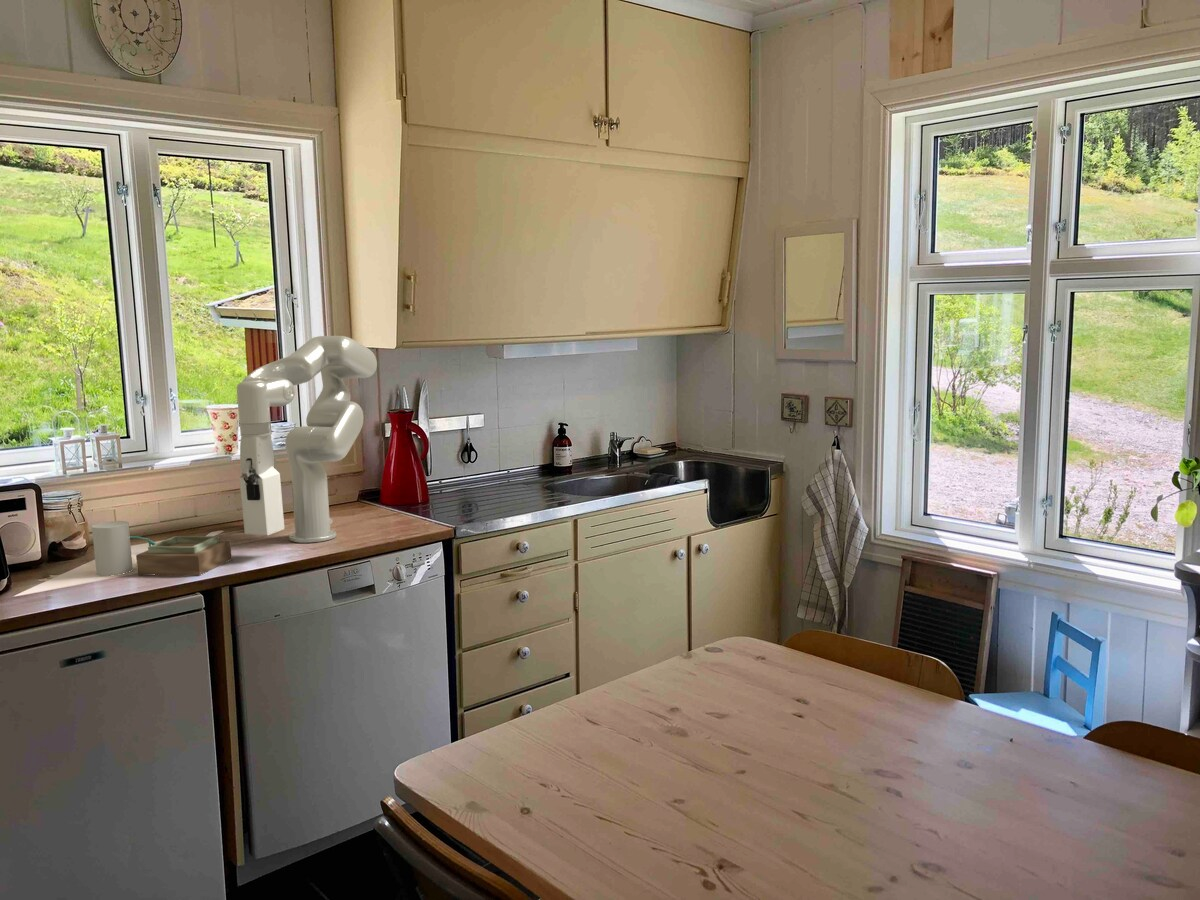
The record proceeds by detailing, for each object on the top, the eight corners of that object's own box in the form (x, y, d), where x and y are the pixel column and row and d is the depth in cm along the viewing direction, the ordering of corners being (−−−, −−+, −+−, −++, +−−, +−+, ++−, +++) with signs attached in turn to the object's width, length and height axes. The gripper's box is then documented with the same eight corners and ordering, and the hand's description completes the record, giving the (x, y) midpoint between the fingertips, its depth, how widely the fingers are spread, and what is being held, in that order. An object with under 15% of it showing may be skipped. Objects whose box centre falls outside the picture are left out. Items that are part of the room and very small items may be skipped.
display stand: (173, 558, 255) (171, 534, 254) (231, 559, 253) (229, 534, 252) (137, 575, 239) (135, 549, 238) (199, 575, 237) (197, 549, 236)
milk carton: (284, 529, 256) (278, 458, 253) (267, 536, 249) (261, 463, 246) (262, 528, 258) (256, 457, 255) (244, 534, 252) (237, 462, 248)
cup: (139, 567, 246) (135, 521, 245) (120, 576, 238) (116, 528, 237) (108, 567, 247) (104, 521, 246) (89, 576, 239) (84, 528, 237)
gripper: (257, 424, 258) (262, 489, 261) (225, 434, 241) (231, 503, 244) (284, 424, 257) (289, 489, 260) (254, 434, 240) (260, 503, 243)
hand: (261, 496), depth 252 cm, fingers closed on milk carton, 8 cm apart
